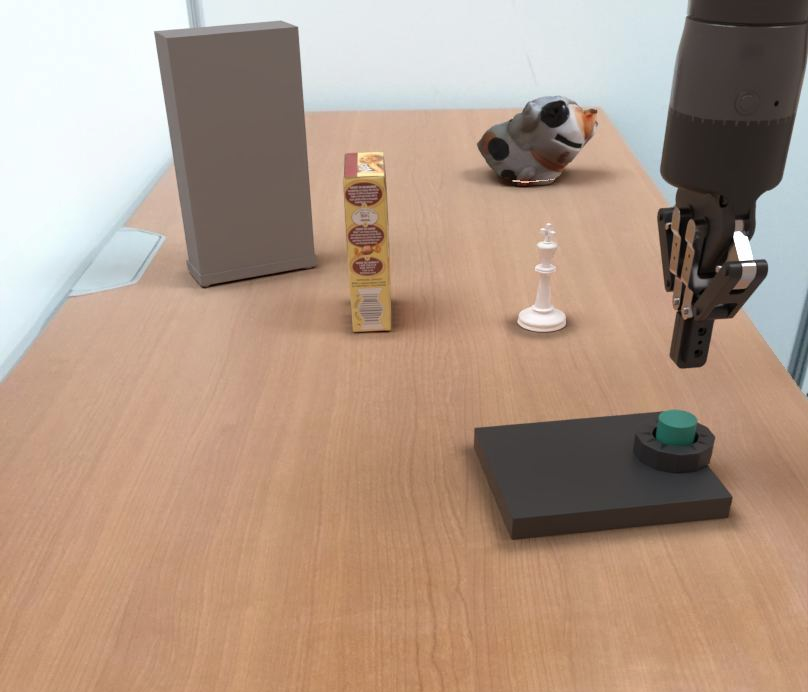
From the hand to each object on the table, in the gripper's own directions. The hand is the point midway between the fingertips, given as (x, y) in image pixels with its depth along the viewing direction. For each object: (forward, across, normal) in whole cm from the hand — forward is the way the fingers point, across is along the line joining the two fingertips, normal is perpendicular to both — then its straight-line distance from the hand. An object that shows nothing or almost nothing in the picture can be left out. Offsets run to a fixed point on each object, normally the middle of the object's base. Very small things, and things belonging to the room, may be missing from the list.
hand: (686, 363), depth 68 cm
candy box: (+10, +35, +19) cm, 41 cm away
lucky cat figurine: (+9, +82, -11) cm, 83 cm away
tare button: (+6, 0, 0) cm, 6 cm away
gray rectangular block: (+10, +51, +31) cm, 60 cm away
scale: (+9, 0, +6) cm, 11 cm away
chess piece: (+10, +30, +2) cm, 32 cm away
